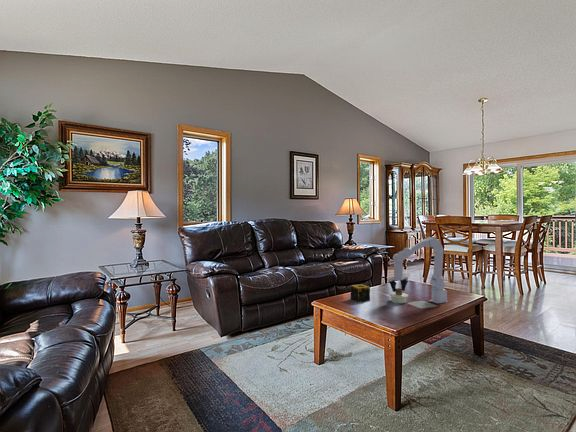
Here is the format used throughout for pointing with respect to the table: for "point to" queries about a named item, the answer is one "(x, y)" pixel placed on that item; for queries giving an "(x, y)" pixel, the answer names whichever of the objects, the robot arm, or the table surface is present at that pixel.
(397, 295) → the lid
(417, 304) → the mat
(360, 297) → the candle
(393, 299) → the bowl
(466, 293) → the table surface
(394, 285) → the robot arm
